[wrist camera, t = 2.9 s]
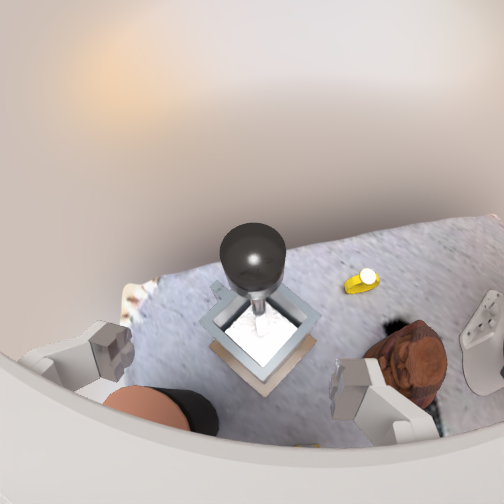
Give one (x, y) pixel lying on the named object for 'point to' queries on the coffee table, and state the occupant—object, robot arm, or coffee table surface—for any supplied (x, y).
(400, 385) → the wooden figurine
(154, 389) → the coffee jar
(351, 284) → the watch
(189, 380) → the coffee table surface
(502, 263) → the coffee table surface
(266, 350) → the plunger
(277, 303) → the frother jug
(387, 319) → the coffee table surface
